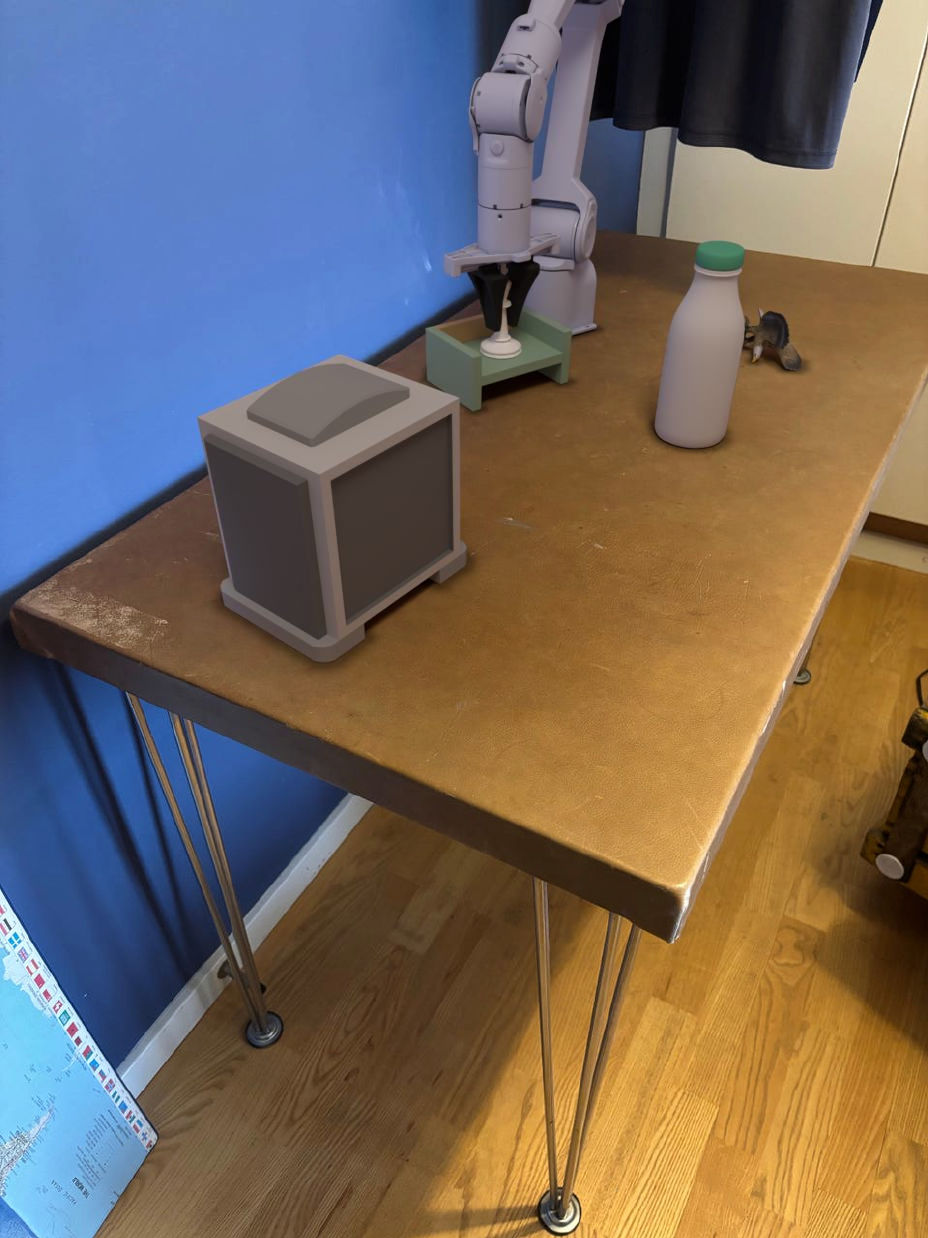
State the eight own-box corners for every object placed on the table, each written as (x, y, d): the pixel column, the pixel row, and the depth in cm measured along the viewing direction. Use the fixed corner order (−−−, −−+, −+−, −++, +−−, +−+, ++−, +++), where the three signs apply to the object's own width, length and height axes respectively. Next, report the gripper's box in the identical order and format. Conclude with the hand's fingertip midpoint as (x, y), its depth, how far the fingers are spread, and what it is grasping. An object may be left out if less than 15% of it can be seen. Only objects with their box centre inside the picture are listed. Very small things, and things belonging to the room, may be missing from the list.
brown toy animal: (715, 351, 115) (780, 359, 109) (734, 294, 114) (800, 299, 108) (742, 368, 120) (806, 377, 114) (760, 314, 119) (825, 321, 113)
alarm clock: (367, 510, 88) (352, 326, 77) (472, 560, 82) (473, 367, 70) (216, 601, 78) (172, 402, 66) (324, 667, 71) (297, 460, 59)
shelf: (519, 353, 117) (521, 303, 113) (568, 382, 110) (572, 329, 106) (426, 380, 111) (425, 328, 107) (472, 411, 104) (473, 357, 100)
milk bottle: (725, 453, 97) (764, 262, 84) (652, 446, 98) (680, 256, 85) (724, 420, 103) (761, 236, 90) (655, 413, 104) (681, 231, 91)
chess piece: (472, 354, 107) (473, 267, 101) (491, 339, 110) (493, 254, 104) (510, 362, 105) (513, 274, 99) (528, 347, 109) (532, 261, 102)
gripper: (469, 223, 92) (468, 352, 100) (581, 200, 98) (571, 324, 106) (431, 206, 96) (434, 331, 105) (541, 185, 102) (535, 305, 111)
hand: (501, 326), depth 106 cm, fingers closed on chess piece
